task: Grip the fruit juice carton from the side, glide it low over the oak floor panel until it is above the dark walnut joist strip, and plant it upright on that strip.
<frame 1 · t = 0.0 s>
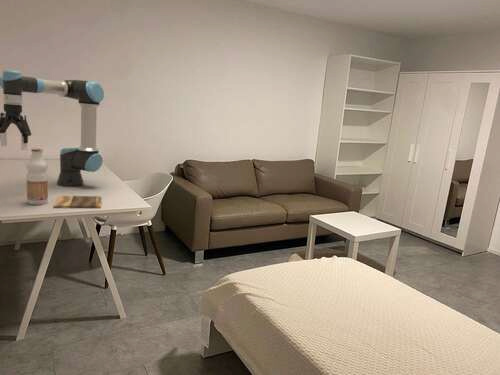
hand: (14, 148, 185), 28 cm above the table, tool pointing down, fingers open, 13 cm apart
floor panel: (78, 202, 203), on the table
fruit juice: (37, 203, 196), on the table
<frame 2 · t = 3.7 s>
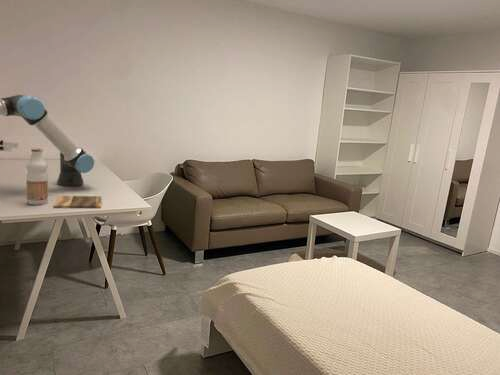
hand: (15, 147, 187), 28 cm above the table, tool horizontal, fingers open, 13 cm apart
nothing on the table moved.
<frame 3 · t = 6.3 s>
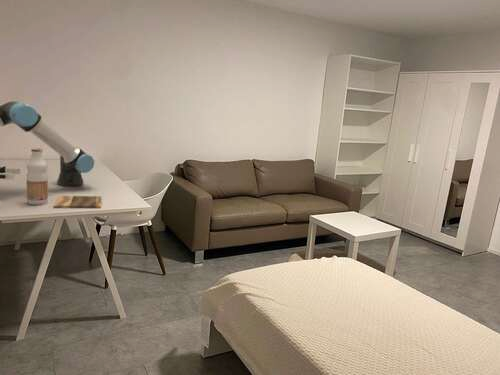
hand: (17, 173, 189), 15 cm above the table, tool horizontal, fingers open, 13 cm apart
nothing on the table moved.
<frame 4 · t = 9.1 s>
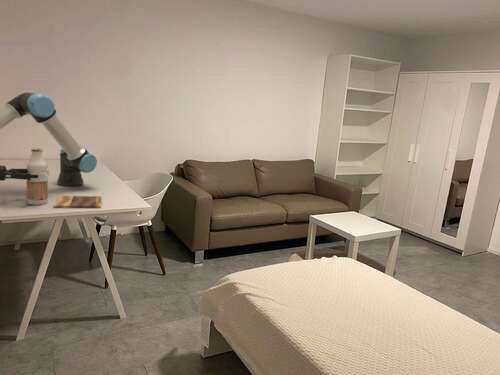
hand: (47, 174, 194), 15 cm above the table, tool horizontal, fingers closed on fruit juice, 9 cm apart
fruit juice: (37, 203, 196), on the table, touching gripper
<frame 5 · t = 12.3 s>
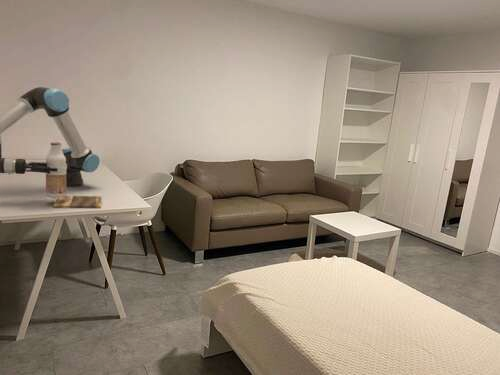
hand: (65, 168, 195), 19 cm above the table, tool horizontal, fingers closed on fruit juice, 9 cm apart
fruit juice: (56, 196, 197), point 4 cm above the table, touching gripper
when the fingers open (17 cm above the table, at t = 15.9 s): fruit juice drops 1 cm, resting on floor panel.
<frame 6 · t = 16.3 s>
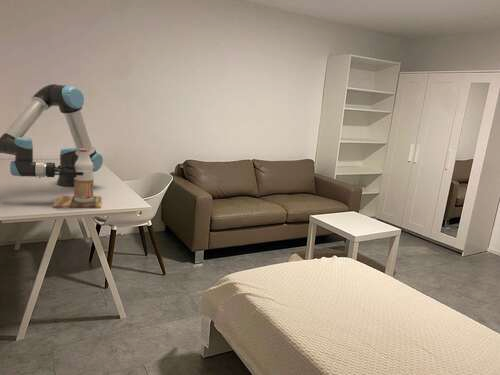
hand: (91, 171, 201), 17 cm above the table, tool horizontal, fingers open, 13 cm apart
fruit juice: (83, 201, 203), point 1 cm above the table, touching floor panel
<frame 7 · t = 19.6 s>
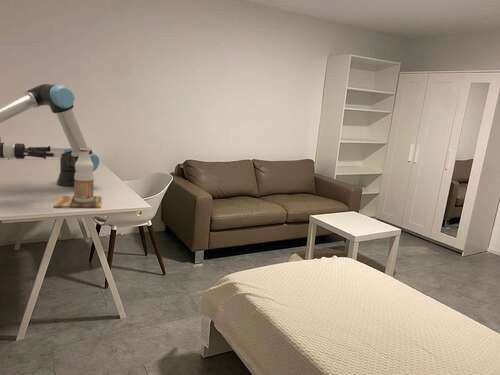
hand: (62, 152, 194), 27 cm above the table, tool horizontal, fingers open, 13 cm apart
nothing on the table moved.
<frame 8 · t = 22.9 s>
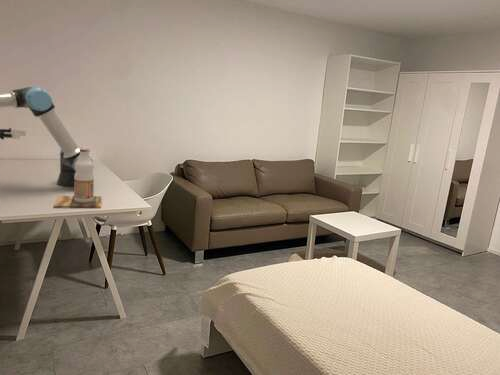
hand: (22, 134, 192), 34 cm above the table, tool horizontal, fingers open, 13 cm apart
nothing on the table moved.
at the end: fruit juice inside the target area on the floor panel (0.2 cm from its centre), point 1.0 cm above the floor panel's base; fruit juice tilted 0°; the gripper is holding nothing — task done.
